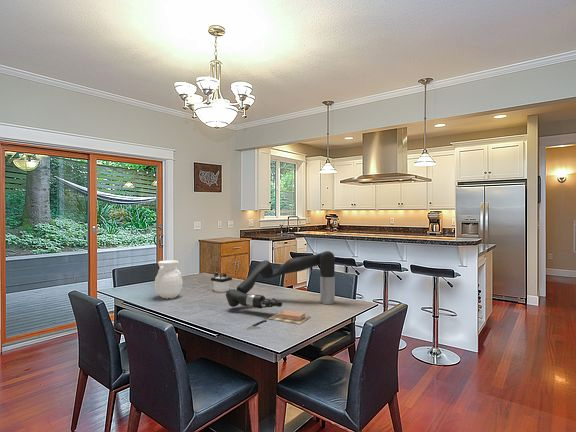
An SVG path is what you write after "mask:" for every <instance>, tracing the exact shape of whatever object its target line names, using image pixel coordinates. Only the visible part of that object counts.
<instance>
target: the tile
mask: <svg viewBox="0 0 576 432" xmlns="http://www.w3.org/2000/svg"><path fill="white" fill-rule="evenodd" d="M277 314H278V317H279V318H282V319H289V320H295V321H300V320H302V319H303V318H305V316H306V312H302V311H296V310H288V309H284V310H281V311H280V312H278V313H277Z"/></svg>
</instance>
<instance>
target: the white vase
mask: <svg viewBox="0 0 576 432" xmlns="http://www.w3.org/2000/svg"><path fill="white" fill-rule="evenodd" d="M157 264H158V267H159V269H158V271H157V274H156V275H155V279H154V284H153V285H154V290H155V292H156V293H157V295H158V296H159V297H161V299H164V298H166V299H167V300H168V298H171V299H175V298H176V297H177V296H178V295H179V294H180V292H181V290H182V287H183V277H182V273H181V271H180V270H179V269H178V265H179V260H175V259H173V260H171V259H168V260H159V261H158V262H157ZM166 299H165V300H166Z"/></svg>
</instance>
